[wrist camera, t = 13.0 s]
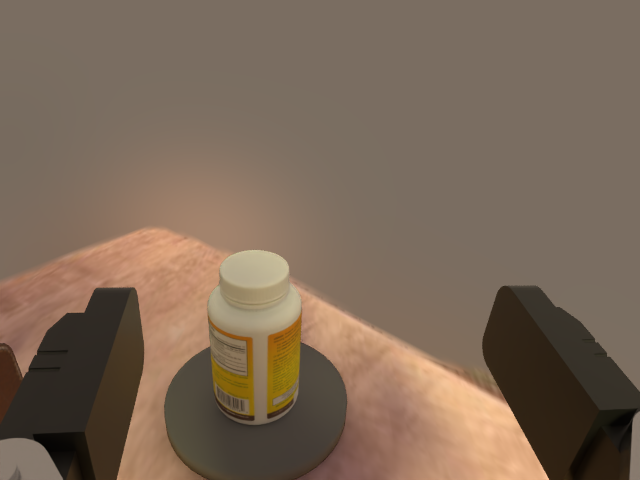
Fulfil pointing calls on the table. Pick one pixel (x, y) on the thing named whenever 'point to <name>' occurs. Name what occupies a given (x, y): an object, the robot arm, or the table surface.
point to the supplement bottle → (255, 337)
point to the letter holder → (8, 378)
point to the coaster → (255, 440)
